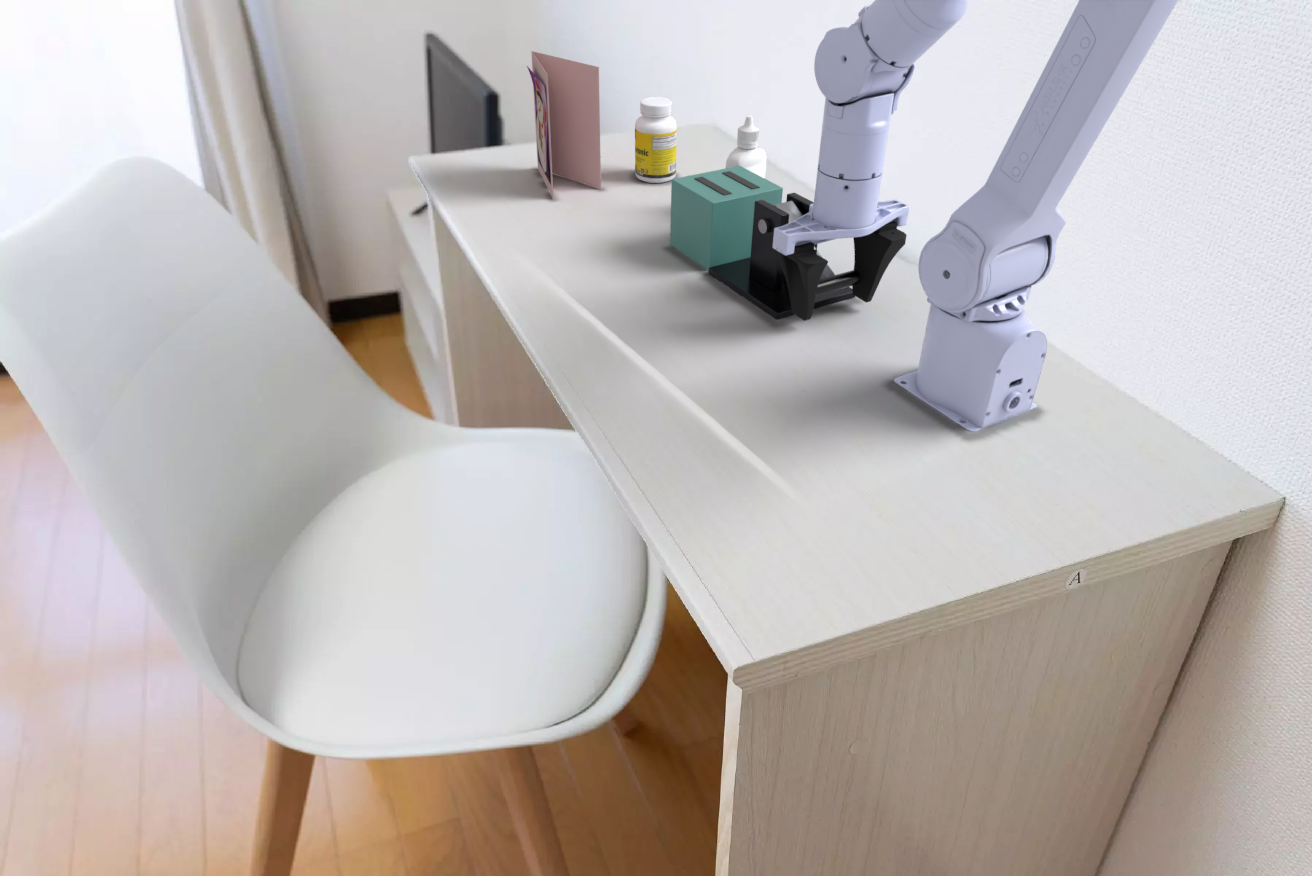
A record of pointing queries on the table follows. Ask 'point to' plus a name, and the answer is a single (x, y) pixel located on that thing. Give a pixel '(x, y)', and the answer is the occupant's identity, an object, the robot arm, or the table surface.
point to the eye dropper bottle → (748, 150)
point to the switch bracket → (769, 265)
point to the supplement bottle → (655, 141)
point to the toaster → (717, 213)
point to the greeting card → (566, 119)
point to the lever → (828, 278)
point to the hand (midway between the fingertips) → (831, 306)
